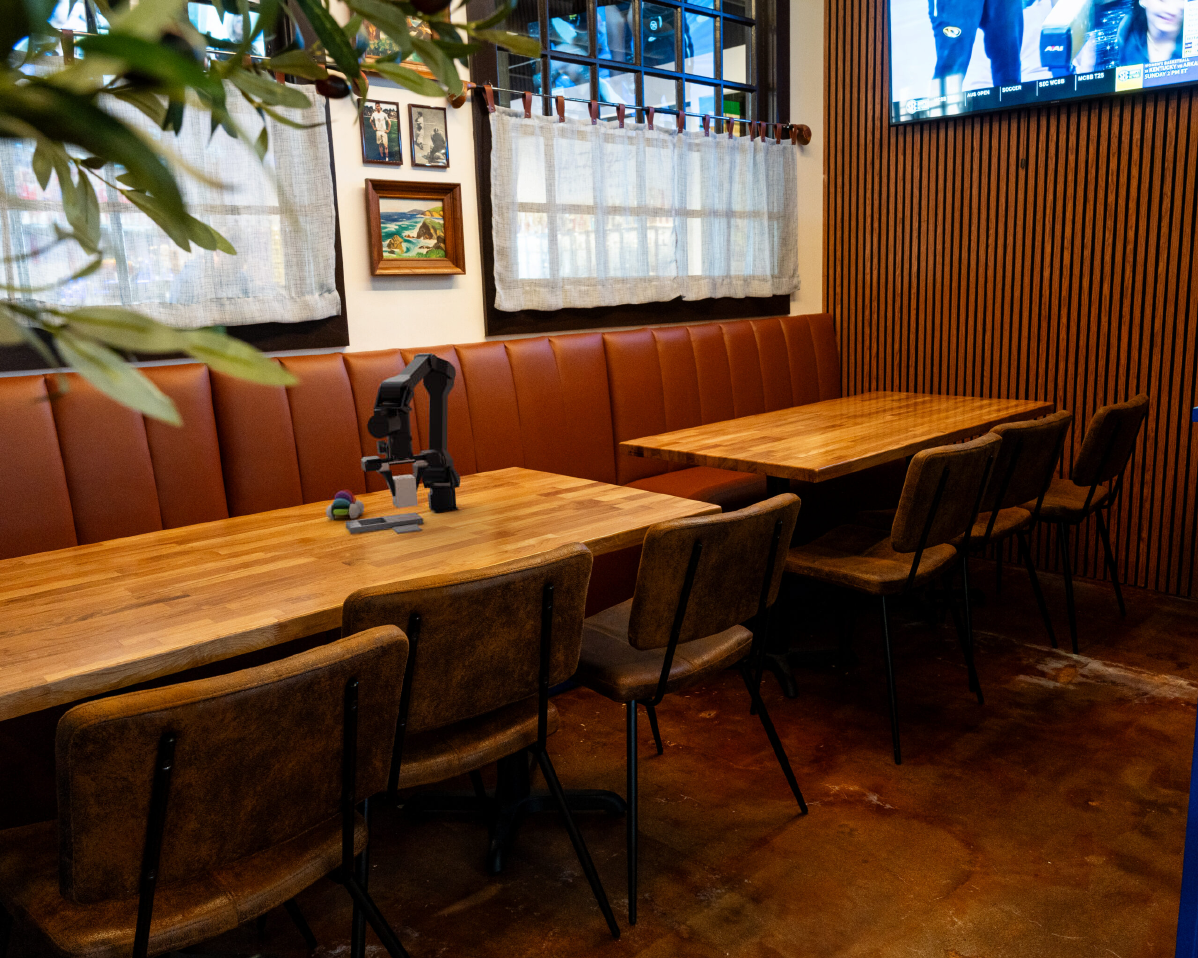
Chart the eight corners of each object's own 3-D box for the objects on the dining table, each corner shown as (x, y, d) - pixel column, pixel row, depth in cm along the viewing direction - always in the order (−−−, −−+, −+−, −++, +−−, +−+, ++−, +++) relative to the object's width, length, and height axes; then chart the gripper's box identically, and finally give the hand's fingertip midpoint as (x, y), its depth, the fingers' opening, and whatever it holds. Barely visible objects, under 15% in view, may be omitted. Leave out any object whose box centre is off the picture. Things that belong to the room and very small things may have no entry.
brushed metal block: (412, 501, 246) (410, 474, 245) (417, 505, 241) (415, 477, 240) (392, 504, 244) (390, 476, 243) (397, 508, 239) (395, 479, 238)
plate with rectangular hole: (415, 517, 256) (415, 512, 256) (423, 524, 249) (422, 518, 249) (345, 527, 249) (345, 521, 249) (351, 533, 242) (350, 527, 242)
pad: (416, 525, 248) (415, 523, 248) (421, 530, 242) (421, 528, 242) (392, 528, 245) (392, 527, 245) (397, 533, 240) (397, 532, 240)
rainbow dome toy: (367, 512, 265) (365, 486, 264) (355, 521, 256) (352, 494, 255) (336, 513, 266) (334, 487, 265) (323, 521, 257) (321, 494, 255)
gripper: (428, 424, 250) (433, 484, 253) (354, 432, 243) (360, 493, 246) (439, 429, 240) (444, 492, 243) (362, 437, 233) (368, 502, 236)
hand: (404, 494), depth 242 cm, fingers closed on brushed metal block, 5 cm apart
